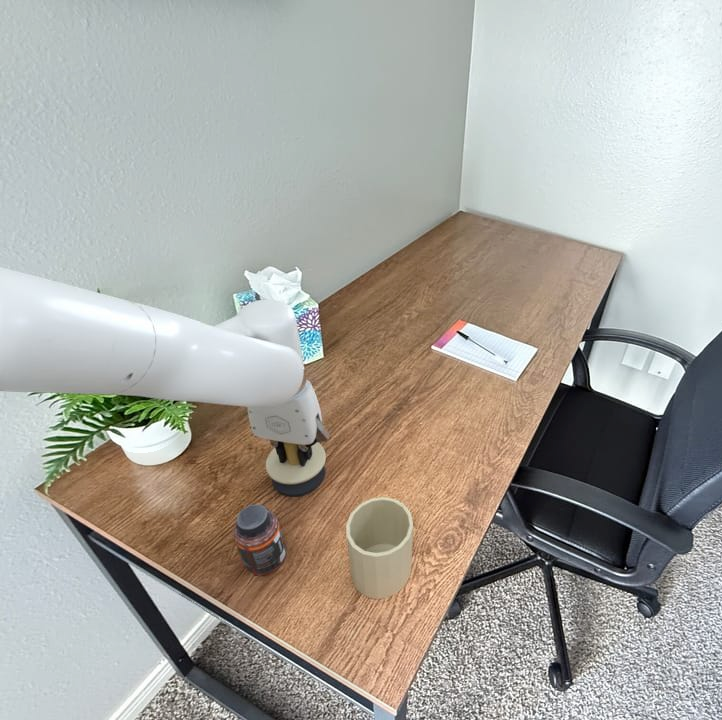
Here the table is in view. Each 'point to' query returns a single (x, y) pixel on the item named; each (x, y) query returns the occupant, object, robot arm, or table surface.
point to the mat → (300, 486)
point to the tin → (380, 547)
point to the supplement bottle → (259, 540)
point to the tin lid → (295, 464)
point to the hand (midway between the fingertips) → (295, 457)
